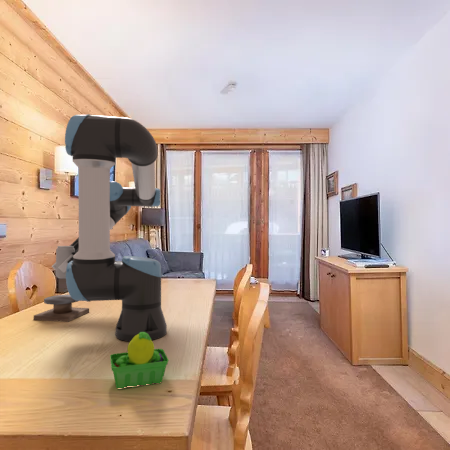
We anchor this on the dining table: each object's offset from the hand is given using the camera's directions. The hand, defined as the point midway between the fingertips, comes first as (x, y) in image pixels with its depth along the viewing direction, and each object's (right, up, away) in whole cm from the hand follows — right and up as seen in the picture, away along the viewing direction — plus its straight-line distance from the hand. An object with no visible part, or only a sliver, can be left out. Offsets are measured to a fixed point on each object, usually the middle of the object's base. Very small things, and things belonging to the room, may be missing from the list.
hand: (57, 269), depth 122 cm
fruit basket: (+44, -17, -53) cm, 71 cm away
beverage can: (+2, -4, +2) cm, 5 cm away
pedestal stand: (+3, -17, -3) cm, 17 cm away
